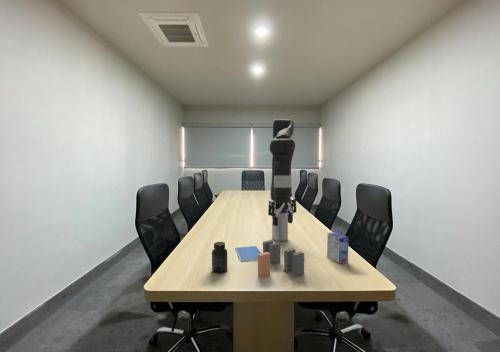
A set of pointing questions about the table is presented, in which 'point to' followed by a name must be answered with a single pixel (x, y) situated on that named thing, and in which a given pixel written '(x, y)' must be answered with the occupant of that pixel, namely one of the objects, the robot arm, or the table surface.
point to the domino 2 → (263, 264)
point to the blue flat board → (248, 253)
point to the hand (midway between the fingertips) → (282, 224)
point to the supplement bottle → (219, 258)
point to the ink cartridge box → (337, 247)
